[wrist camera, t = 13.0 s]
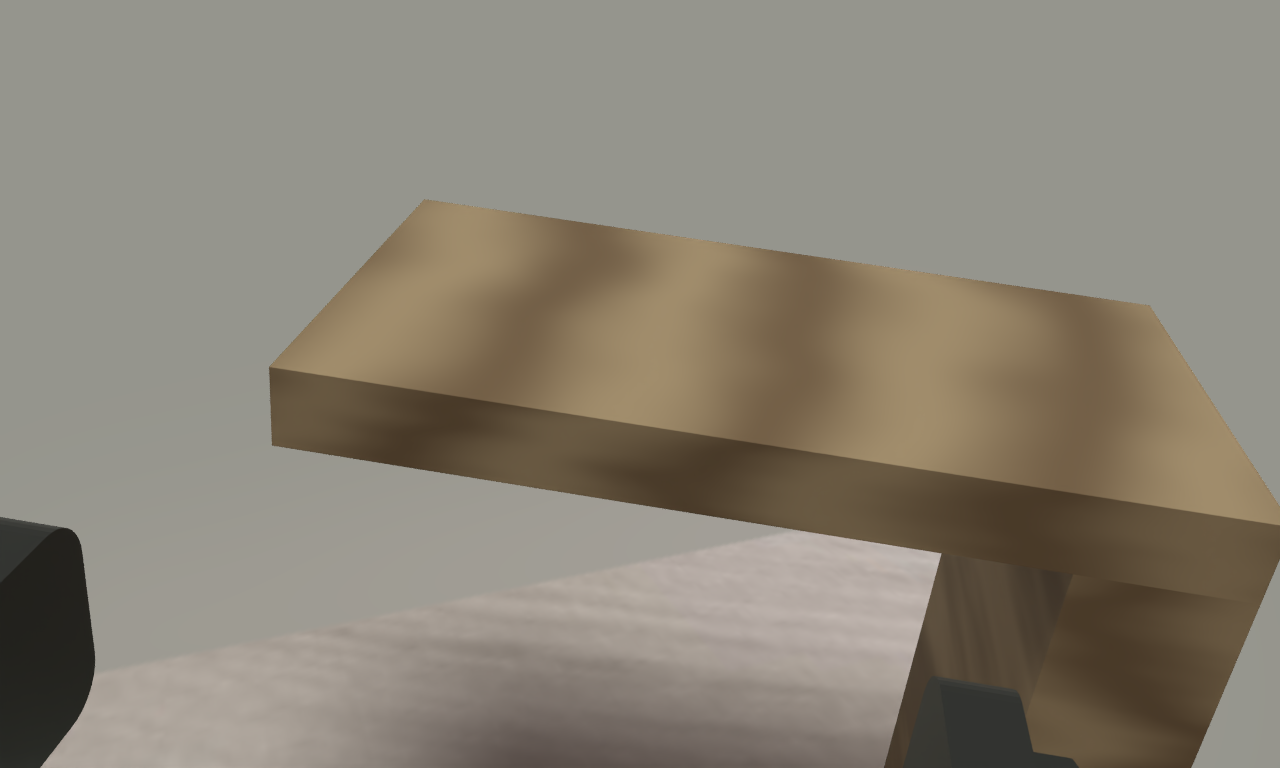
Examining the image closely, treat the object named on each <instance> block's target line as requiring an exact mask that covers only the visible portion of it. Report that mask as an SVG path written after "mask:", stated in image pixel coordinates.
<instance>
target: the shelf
mask: <svg viewBox="0 0 1280 768" xmlns="http://www.w3.org/2000/svg"><path fill="white" fill-rule="evenodd" d="M269 374H270V403H271V430H272V445H273V446H279V447H285V448H291V449H297V450H303V451H310V452H316V453H323V454H328V455H335V456H341V457H347V458H353V459H359V460H366V461H372V462H378V463H384V464H390V465H397V466H403V467H409V468H415V469H422V470H428V471H434V472H440V473H446V474H453V475H459V476H465V477H472V478H477V479H484V480H491V481H496V482H502V483H508V484H515V485H521V486H527V487H534V488H539V489H546V490H552V491H558V492H565V493H571V494H577V495H583V496H589V497H595V498H602V499H608V500H614V501H620V502H626V503H633V504H639V505H645V506H652V507H658V508H664V509H670V510H676V511H682V512H689V513H695V514H701V515H707V516H713V517H720V518H726V519H732V520H738V521H745V522H751V523H757V524H764V525H770V526H776V527H782V528H788V529H794V530H800V531H806V532H813V533H819V534H825V535H831V536H838V537H844V538H850V539H856V540H862V541H869V542H875V543H881V544H887V545H893V546H900V547H906V548H912V549H918V550H924V551H931V552H937V553H942V554H941V558H940V562H939V565H938V569H937V573H936V576H935V580H934V584H933V588H932V591H931V595H930V599H929V603H928V606H927V610H926V614H925V617H924V621H923V625H922V629H921V632H920V636H919V640H918V643H917V647H916V651H915V655H914V658H913V662H912V666H911V669H910V673H909V677H908V681H907V684H906V688H905V692H904V695H903V699H902V703H901V707H900V710H899V714H898V718H897V722H896V725H895V729H894V733H893V736H892V740H891V744H890V748H889V751H888V755H887V759H886V762H885V766H884V768H903V765H904V761H905V758H906V754H907V751H908V747H909V743H910V740H911V736H912V733H913V729H914V726H915V722H916V718H917V715H918V711H919V708H920V704H921V701H922V697H923V694H924V691H925V688H926V685H927V683H928V681H929V679H930V678H931V677H932V676H938V677H944V678H950V679H956V680H962V681H968V682H974V683H980V684H986V685H992V686H998V687H1004V688H1010V689H1014V690H1016V691H1017V692H1018V693H1019V695H1020V697H1021V701H1022V704H1023V709H1024V713H1025V717H1026V722H1027V726H1028V730H1029V735H1030V739H1031V743H1032V748H1033V752H1037V753H1043V754H1049V755H1055V756H1061V757H1067V758H1072V759H1073V760H1074V761H1075V763H1076V764H1077V765H1078V767H1079V768H1191V767H1192V765H1193V762H1194V760H1195V758H1196V755H1197V753H1198V751H1199V748H1200V746H1201V744H1202V741H1203V739H1204V736H1205V734H1206V732H1207V729H1208V727H1209V725H1210V722H1211V720H1212V718H1213V715H1214V713H1215V711H1216V708H1217V706H1218V703H1219V701H1220V699H1221V696H1222V694H1223V692H1224V689H1225V686H1226V685H1227V682H1228V680H1229V677H1230V675H1231V673H1232V671H1233V668H1234V666H1235V663H1236V661H1237V659H1238V656H1239V654H1240V652H1241V649H1242V647H1243V645H1244V642H1245V640H1246V638H1247V635H1248V633H1249V630H1250V628H1251V626H1252V623H1253V621H1254V618H1255V616H1256V614H1257V611H1258V609H1259V607H1260V605H1261V602H1262V600H1263V598H1264V595H1265V593H1266V590H1267V588H1268V586H1269V583H1270V581H1271V579H1272V576H1273V574H1274V572H1275V569H1276V567H1277V564H1278V562H1279V560H1280V506H1279V505H1278V503H1277V502H1276V500H1275V498H1274V497H1273V495H1272V494H1271V492H1270V491H1269V489H1268V488H1267V486H1266V485H1265V483H1264V481H1263V480H1262V478H1261V477H1260V475H1259V474H1258V472H1257V471H1256V469H1255V468H1254V466H1253V464H1252V463H1251V462H1250V460H1249V459H1248V457H1247V455H1246V454H1245V452H1244V451H1243V449H1242V447H1241V446H1240V444H1239V443H1238V441H1237V440H1236V438H1235V437H1234V435H1233V434H1232V432H1231V431H1230V429H1229V427H1228V426H1227V424H1226V423H1225V421H1224V420H1223V418H1222V417H1221V415H1220V413H1219V412H1218V410H1217V409H1216V407H1215V406H1214V404H1213V403H1212V401H1211V400H1210V398H1209V396H1208V395H1207V393H1206V392H1205V390H1204V389H1203V387H1202V386H1201V384H1200V383H1199V381H1198V379H1197V378H1196V376H1195V375H1194V373H1193V372H1192V370H1191V369H1190V367H1189V366H1188V364H1187V362H1186V361H1185V359H1184V358H1183V356H1182V355H1181V353H1180V352H1179V351H1178V349H1177V347H1176V346H1175V344H1174V342H1173V341H1172V339H1171V338H1170V336H1169V335H1168V333H1167V332H1166V330H1165V329H1164V327H1163V325H1162V324H1161V323H1160V321H1159V319H1158V318H1157V316H1156V315H1155V313H1154V311H1153V310H1152V308H1151V307H1150V306H1149V305H1142V304H1135V303H1128V302H1121V301H1115V300H1108V299H1101V298H1094V297H1087V296H1080V295H1074V294H1067V293H1060V292H1053V291H1046V290H1040V289H1033V288H1025V287H1019V286H1012V285H1006V284H999V283H992V282H984V281H978V280H971V279H965V278H958V277H951V276H944V275H937V274H930V273H924V272H917V271H910V270H903V269H896V268H889V267H882V266H876V265H869V264H862V263H855V262H849V261H842V260H835V259H827V258H821V257H814V256H808V255H801V254H793V253H787V252H780V251H773V250H766V249H760V248H753V247H746V246H739V245H732V244H726V243H719V242H712V241H705V240H698V239H691V238H685V237H678V236H671V235H664V234H656V233H650V232H643V231H637V230H630V229H623V228H616V227H610V226H603V225H596V224H589V223H582V222H575V221H568V220H561V219H555V218H548V217H541V216H534V215H527V214H521V213H514V212H507V211H500V210H494V209H486V208H480V207H473V206H466V205H459V204H453V203H446V202H439V201H432V200H423V201H422V203H421V204H420V205H419V206H418V207H417V208H416V209H415V210H414V211H413V212H412V213H411V214H410V215H409V217H408V218H407V219H406V220H405V221H404V222H403V223H402V224H401V225H400V226H399V228H398V229H397V230H396V231H395V232H394V233H393V234H392V235H391V236H390V237H389V238H388V239H387V241H385V242H384V244H383V245H382V246H381V247H380V248H379V249H378V250H377V251H376V252H375V253H374V254H373V256H371V258H370V259H369V260H368V261H367V262H366V263H365V264H364V265H363V266H362V267H361V268H360V269H359V271H358V272H357V273H356V274H355V275H354V276H353V277H352V278H351V279H350V280H349V281H348V282H347V284H346V285H345V286H344V287H343V288H342V289H341V290H340V291H339V292H338V293H337V294H336V295H335V297H333V299H332V300H331V301H330V302H329V303H328V304H327V305H326V306H325V307H324V308H323V309H322V310H321V312H320V313H319V314H318V315H317V316H316V317H315V318H314V319H313V320H312V321H311V322H310V323H309V324H308V326H307V327H306V328H305V329H304V330H303V331H302V332H301V333H300V334H299V335H298V336H297V338H296V339H295V340H294V341H293V342H292V343H291V344H290V345H289V346H288V347H287V348H286V349H285V350H284V352H283V353H282V354H281V355H280V356H279V357H278V358H277V359H276V360H275V362H273V363H272V364H271V366H270V367H269Z"/></svg>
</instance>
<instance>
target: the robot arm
mask: <svg viewBox="0 0 1280 768" xmlns="http://www.w3.org/2000/svg"><path fill="white" fill-rule="evenodd" d="M94 668H95V651H94V643H93V635H92V627H91V619H90V611H89V603H88V595H87V587H86V579H85V571H84V563H83V555H82V549H81V544H80V541H79V539H78V537H77V535H76V534H75V533H74V532H73V531H72V530H70V529H68V528H62V527H57V526H50V525H44V524H38V523H32V522H26V521H21V520H15V519H9V518H3V517H0V768H40V767H41V766H42V765H43V763H44V762H45V761H46V760H47V758H48V757H49V756H50V754H51V753H52V752H53V751H54V749H55V748H56V747H57V745H58V744H59V743H60V741H61V740H62V739H63V738H64V736H65V735H66V734H67V732H68V731H69V730H70V729H71V727H72V726H73V725H74V723H75V722H76V720H77V719H78V717H79V715H80V714H81V712H82V710H83V708H84V705H85V703H86V701H87V698H88V695H89V692H90V689H91V686H92V681H93V677H94ZM903 768H1079V767H1078V765H1077V764H1076V763H1075V761H1074V760H1073V759H1072V758H1067V757H1061V756H1055V755H1049V754H1043V753H1037V752H1033V748H1032V743H1031V739H1030V735H1029V730H1028V726H1027V722H1026V717H1025V713H1024V709H1023V704H1022V701H1021V697H1020V695H1019V693H1018V692H1017V691H1016V690H1014V689H1010V688H1004V687H998V686H992V685H986V684H980V683H974V682H968V681H962V680H956V679H950V678H944V677H938V676H932V677H931V678H930V679H929V681H928V683H927V685H926V688H925V691H924V694H923V697H922V701H921V704H920V708H919V711H918V715H917V718H916V722H915V726H914V729H913V733H912V736H911V740H910V743H909V747H908V751H907V754H906V758H905V761H904V765H903Z"/></svg>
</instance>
